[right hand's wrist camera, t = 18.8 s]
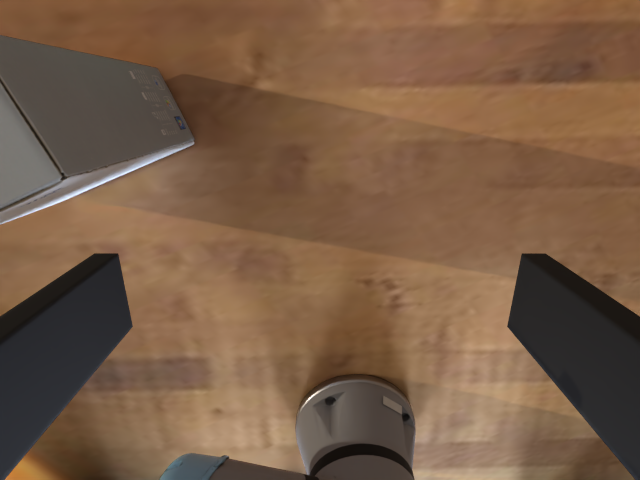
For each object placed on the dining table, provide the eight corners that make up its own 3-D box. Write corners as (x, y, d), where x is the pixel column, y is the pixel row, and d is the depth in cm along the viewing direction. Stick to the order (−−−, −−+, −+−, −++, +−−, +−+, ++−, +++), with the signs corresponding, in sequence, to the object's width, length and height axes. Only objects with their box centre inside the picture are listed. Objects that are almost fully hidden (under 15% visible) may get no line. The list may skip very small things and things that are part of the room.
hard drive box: (158, 64, 35) (-33, 18, 16) (198, 142, 37) (74, 183, 18) (20, 131, 37) (-292, 160, 18) (67, 201, 39) (-165, 292, 20)
